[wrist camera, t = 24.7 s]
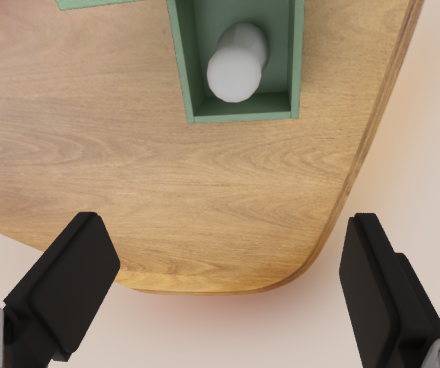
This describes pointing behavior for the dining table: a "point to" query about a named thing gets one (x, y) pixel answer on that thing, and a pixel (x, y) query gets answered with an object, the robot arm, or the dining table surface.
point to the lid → (87, 3)
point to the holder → (206, 46)
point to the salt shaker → (238, 62)
